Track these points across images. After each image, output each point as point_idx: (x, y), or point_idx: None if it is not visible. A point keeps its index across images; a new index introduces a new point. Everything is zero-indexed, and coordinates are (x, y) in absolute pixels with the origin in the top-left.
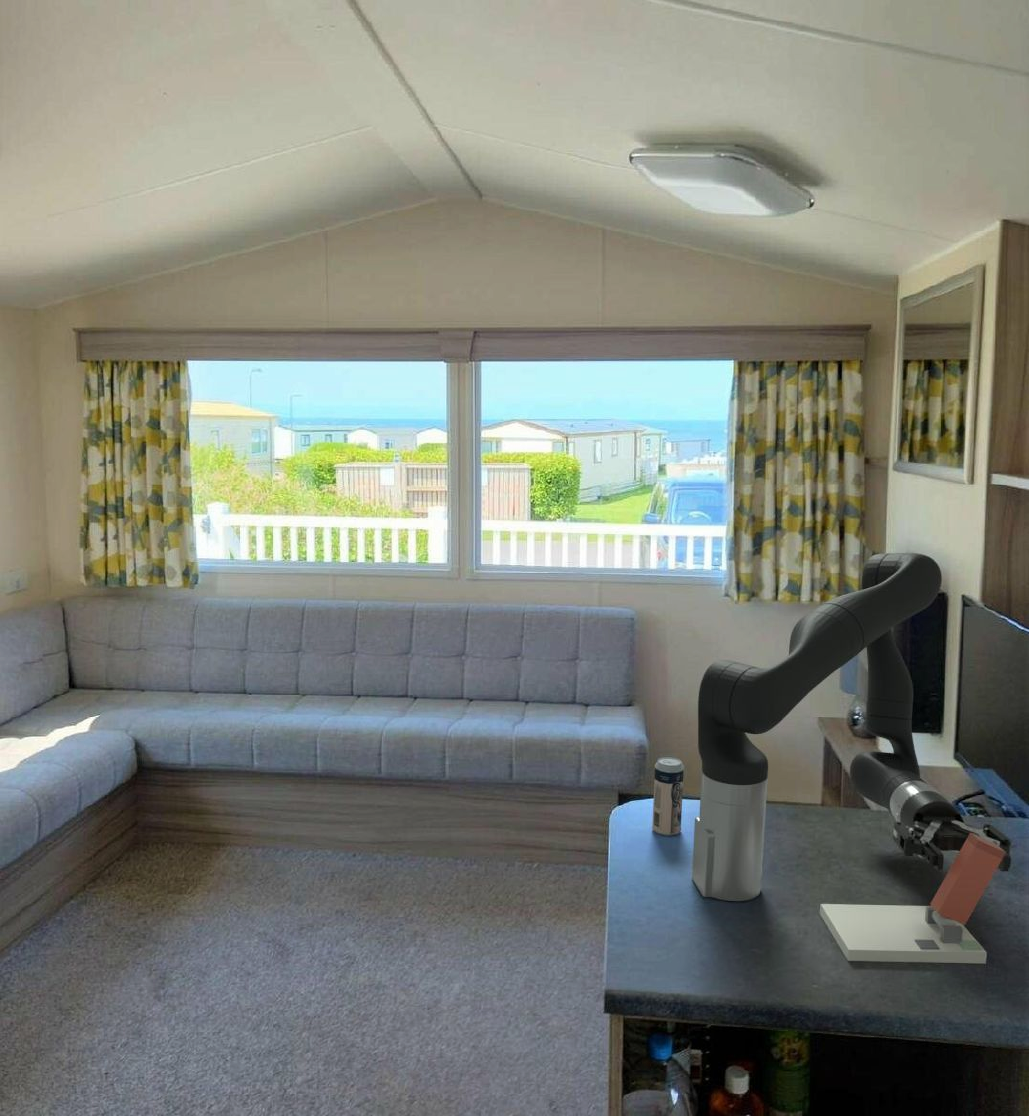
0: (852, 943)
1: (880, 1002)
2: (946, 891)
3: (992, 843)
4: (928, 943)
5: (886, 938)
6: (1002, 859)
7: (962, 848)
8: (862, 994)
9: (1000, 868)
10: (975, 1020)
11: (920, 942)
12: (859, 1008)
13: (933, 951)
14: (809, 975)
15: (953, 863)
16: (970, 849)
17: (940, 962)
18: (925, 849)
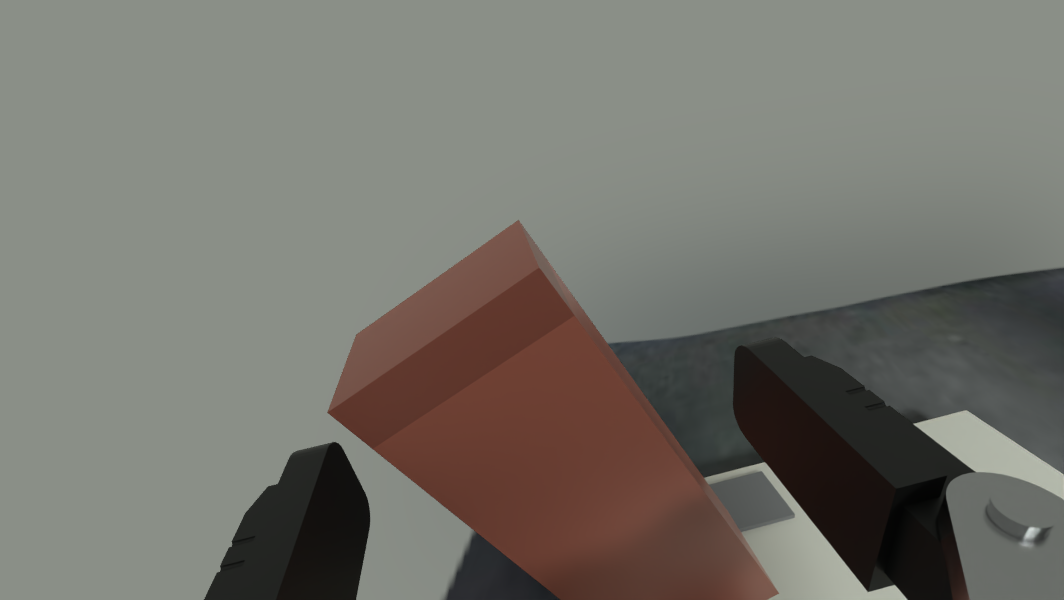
0: (982, 443)
1: (798, 336)
2: (699, 474)
3: (382, 357)
4: (742, 502)
5: None
6: (340, 470)
7: (611, 364)
8: (842, 343)
9: (363, 533)
10: (624, 345)
11: (769, 500)
12: (828, 315)
13: (720, 474)
14: (997, 360)
15: (671, 446)
16: (569, 295)
17: None
18: (912, 424)
